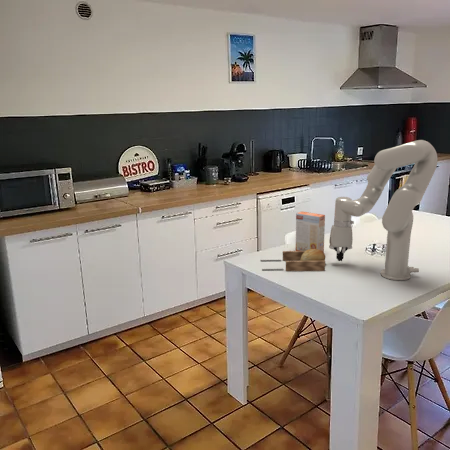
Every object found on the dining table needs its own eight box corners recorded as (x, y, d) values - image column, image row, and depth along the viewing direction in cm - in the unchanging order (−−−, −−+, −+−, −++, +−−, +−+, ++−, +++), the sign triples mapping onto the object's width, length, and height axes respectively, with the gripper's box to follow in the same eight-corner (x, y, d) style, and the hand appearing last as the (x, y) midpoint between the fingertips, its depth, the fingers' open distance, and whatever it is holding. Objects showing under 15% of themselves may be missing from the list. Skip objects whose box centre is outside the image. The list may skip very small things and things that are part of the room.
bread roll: (330, 263, 218) (331, 248, 216) (312, 271, 208) (312, 255, 206) (314, 259, 224) (315, 243, 222) (295, 266, 215) (295, 250, 213)
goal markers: (280, 260, 223) (280, 259, 223) (283, 270, 210) (283, 269, 210) (260, 260, 224) (260, 259, 224) (262, 270, 210) (262, 269, 210)
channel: (318, 259, 224) (319, 250, 222) (324, 270, 208) (325, 261, 207) (282, 259, 224) (282, 251, 223) (285, 271, 209) (286, 261, 208)
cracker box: (324, 253, 232) (325, 214, 227) (318, 256, 228) (319, 216, 222) (301, 248, 241) (302, 210, 236) (295, 251, 237) (295, 212, 232)
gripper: (356, 221, 214) (353, 257, 219) (324, 221, 214) (322, 257, 219) (360, 225, 207) (357, 263, 212) (327, 225, 207) (325, 262, 212)
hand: (339, 260), depth 215 cm, fingers closed
